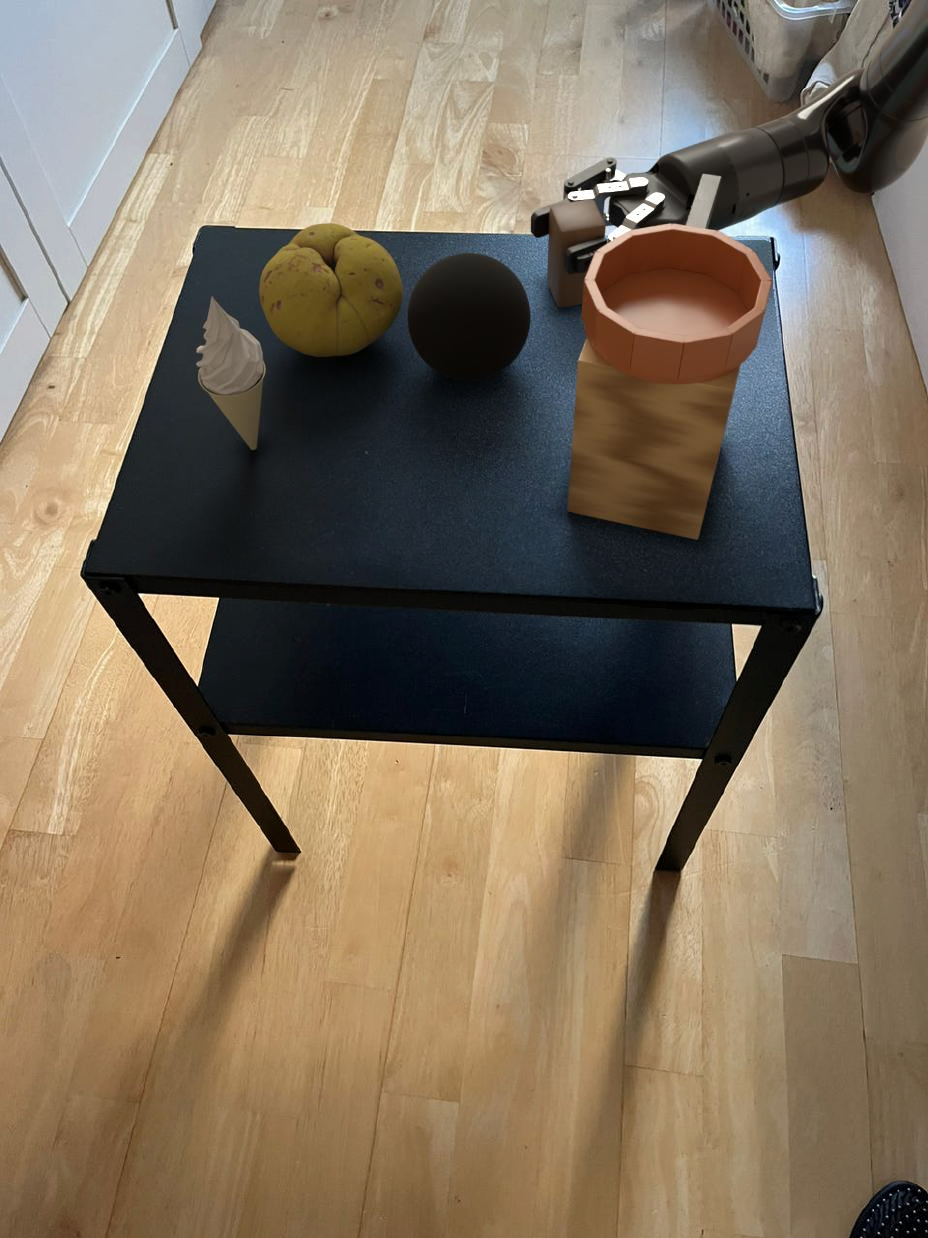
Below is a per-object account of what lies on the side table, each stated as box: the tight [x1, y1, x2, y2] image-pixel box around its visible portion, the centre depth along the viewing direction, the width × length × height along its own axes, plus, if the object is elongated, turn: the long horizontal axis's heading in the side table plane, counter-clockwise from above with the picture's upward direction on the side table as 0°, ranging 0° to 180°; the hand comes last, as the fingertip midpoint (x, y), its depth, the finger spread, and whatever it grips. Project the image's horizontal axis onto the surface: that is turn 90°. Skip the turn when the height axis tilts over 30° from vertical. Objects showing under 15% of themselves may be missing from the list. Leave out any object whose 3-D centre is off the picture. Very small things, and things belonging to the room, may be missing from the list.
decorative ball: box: [407, 252, 532, 382], centre depth 85 cm, size 10×10×10 cm
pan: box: [581, 174, 773, 384], centre depth 69 cm, size 18×11×4 cm, turn 162°
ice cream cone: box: [196, 295, 267, 451], centre depth 78 cm, size 5×5×15 cm
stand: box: [566, 337, 742, 541], centre depth 75 cm, size 10×10×15 cm
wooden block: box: [546, 199, 607, 309], centre depth 90 cm, size 4×4×8 cm
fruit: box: [258, 222, 404, 358], centre depth 87 cm, size 11×12×10 cm
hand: (550, 244), depth 88 cm, fingers open, 5 cm apart
